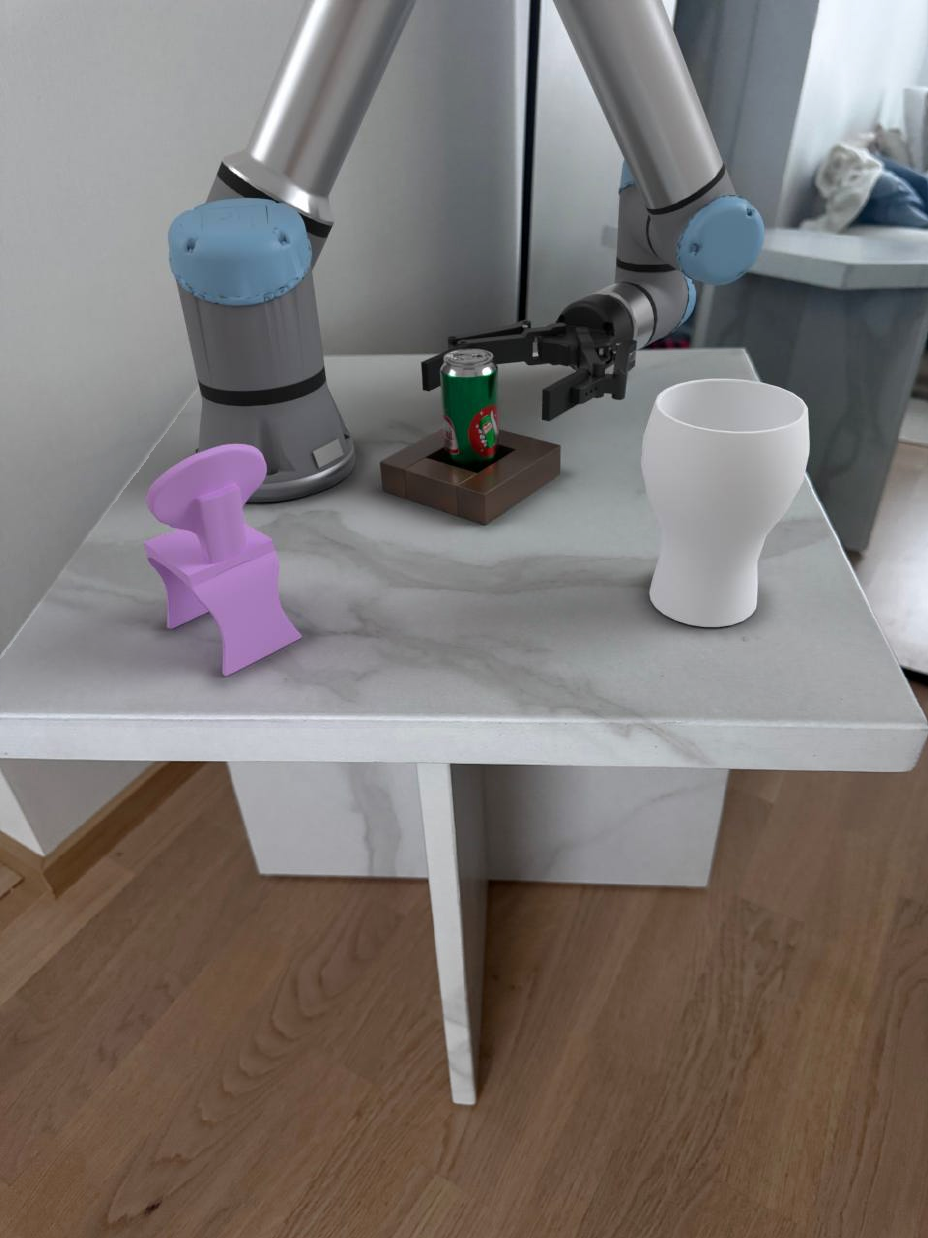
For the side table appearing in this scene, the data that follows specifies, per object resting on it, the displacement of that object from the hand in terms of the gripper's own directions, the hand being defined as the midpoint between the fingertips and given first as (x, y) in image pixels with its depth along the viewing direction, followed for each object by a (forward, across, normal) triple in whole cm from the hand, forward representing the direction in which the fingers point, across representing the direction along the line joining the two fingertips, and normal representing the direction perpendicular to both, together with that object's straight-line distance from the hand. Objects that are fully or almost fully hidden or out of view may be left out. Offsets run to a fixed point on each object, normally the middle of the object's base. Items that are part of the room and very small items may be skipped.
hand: (482, 390), depth 78 cm
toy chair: (+31, 0, -8) cm, 32 cm away
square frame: (+2, 0, -8) cm, 9 cm away
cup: (+8, -26, -8) cm, 29 cm away
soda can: (+2, 0, -8) cm, 9 cm away
